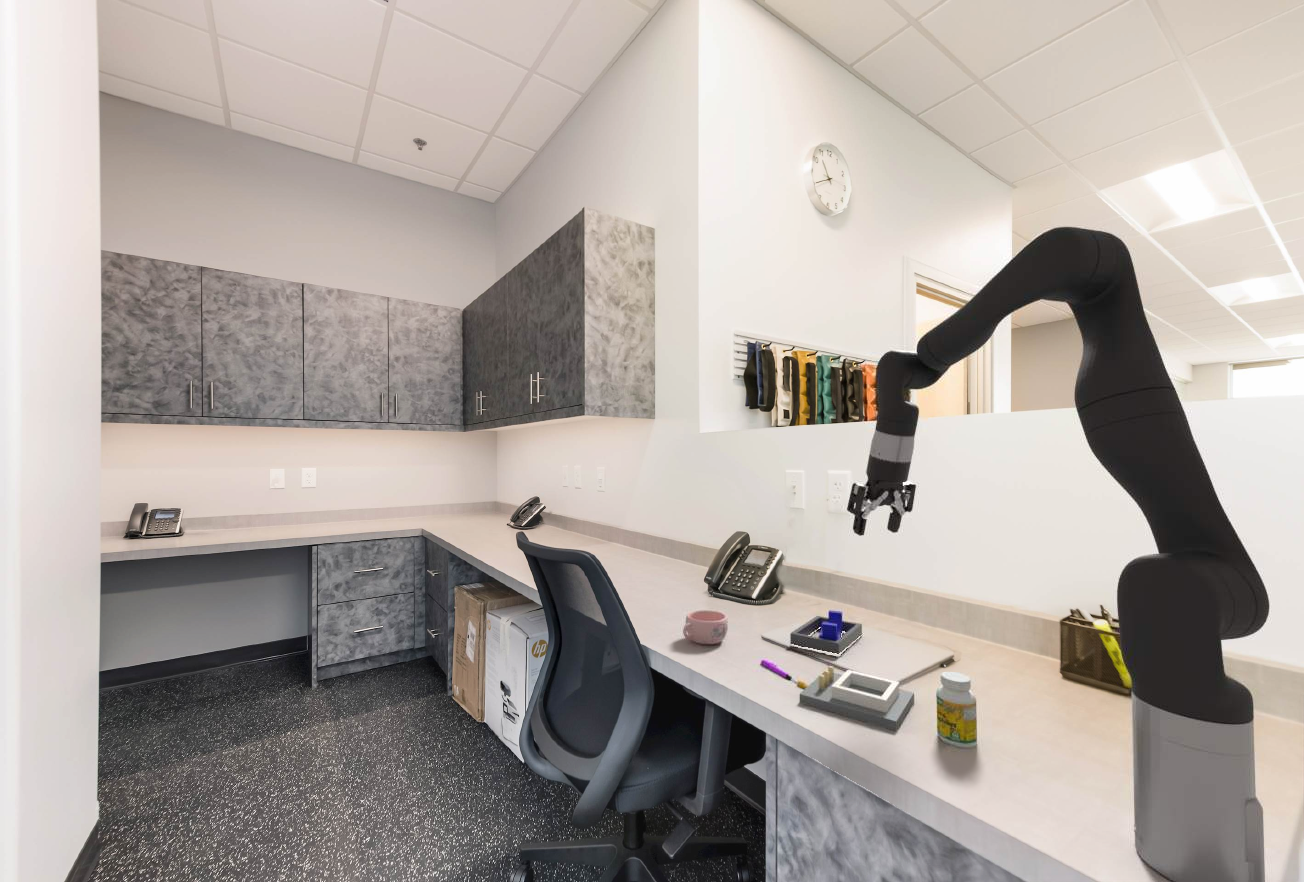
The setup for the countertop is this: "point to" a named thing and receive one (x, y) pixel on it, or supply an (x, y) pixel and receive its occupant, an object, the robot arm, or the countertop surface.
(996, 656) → the countertop surface
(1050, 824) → the countertop surface
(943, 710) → the supplement bottle
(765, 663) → the purple handled brush
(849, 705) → the board
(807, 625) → the tray
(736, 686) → the countertop surface
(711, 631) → the mug
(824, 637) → the cable clip
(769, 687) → the countertop surface
